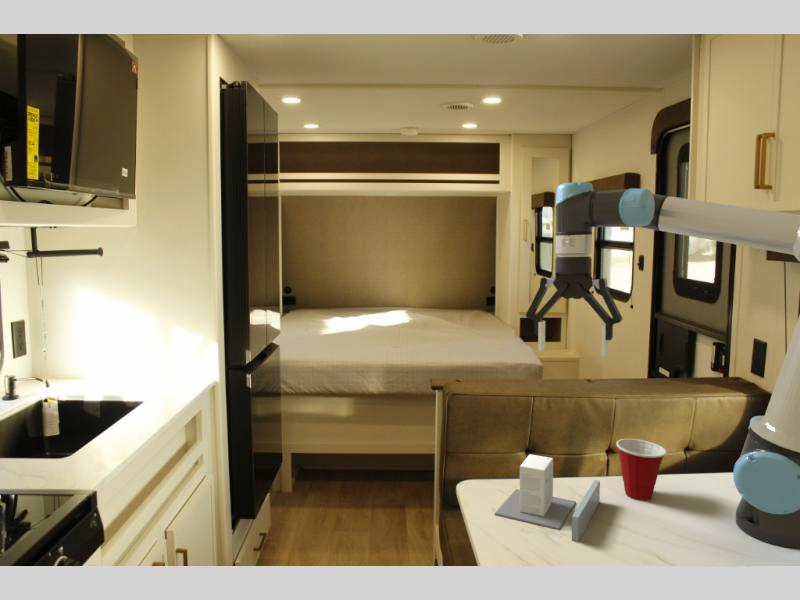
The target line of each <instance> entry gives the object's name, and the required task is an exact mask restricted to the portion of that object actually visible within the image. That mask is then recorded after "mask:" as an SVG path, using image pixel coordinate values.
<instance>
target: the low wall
mask: <svg viewBox="0 0 800 600" xmlns="http://www.w3.org/2000/svg"><path fill="white" fill-rule="evenodd" d="M600 487H601V481H600V480H597V479H594V480H593V481H592V483H591V485H590V486H589V488H588V489H587V491H586V493H585V495H584V496H583V498H582V499H581V501H580V503H579V505H578V506H577V508H576V510H574V512H573V514H572V516H571V541H573V542H577V543H578V542H579V541H580V539H581V537H582V535H583V534H584V531H585V530H586V528H587V526H588V524H589V523H590V521H591V519H592V517H593V515H594V513H595V511H596V509H597V508H598V505H599V503H600V499H601V498H600V497H601V496H600V494H601V492H600V491H601V490H600V489H601V488H600Z"/></svg>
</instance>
